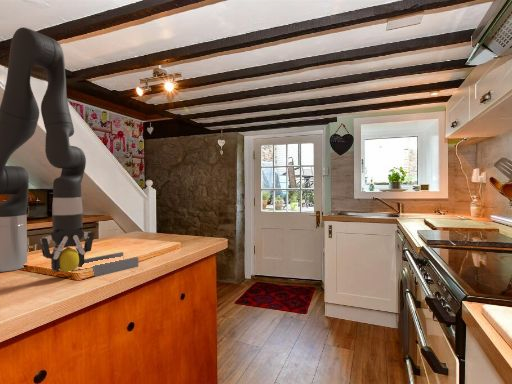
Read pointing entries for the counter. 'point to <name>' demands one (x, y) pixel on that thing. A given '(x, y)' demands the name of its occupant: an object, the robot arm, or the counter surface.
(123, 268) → the guide channel
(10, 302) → the counter surface
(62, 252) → the lemon
